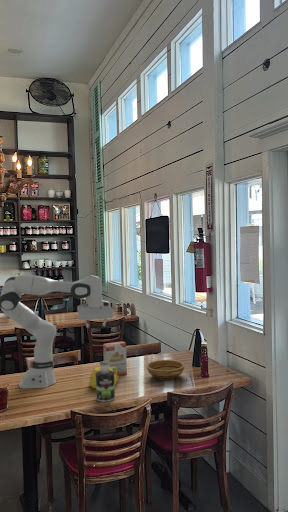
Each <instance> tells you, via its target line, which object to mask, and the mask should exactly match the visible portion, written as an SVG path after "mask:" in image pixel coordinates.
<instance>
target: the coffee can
mask: <svg viewBox="0 0 288 512" xmlns="http://www.w3.org/2000/svg"><path fill="white" fill-rule="evenodd" d="M115 389H116V387H115V386H114V372H113V371H109V374H106V375H102V374H100V371H99V372H97V373H96V389H95V390H96V401H97V402H103V403H104V402H111V401H114V400H115V399H116V395H115Z"/></svg>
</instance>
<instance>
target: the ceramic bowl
mask: <svg viewBox="0 0 288 512" xmlns="http://www.w3.org/2000/svg"><path fill="white" fill-rule="evenodd" d="M185 366H186V364H185V363H184V362H182V361H180V360H173V359H158V360H154V361H150V362H148V363H147V364H146V365H145V367H146V370H147V372H148V374H150V376H153V377H154V378H156V379H157V378H158V380H159V379H160V381H171V380H172V381H173V380H174V379H176V377H178V376H180V375H182V373H183V372H184V370H185Z"/></svg>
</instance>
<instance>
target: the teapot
mask: <svg viewBox="0 0 288 512" xmlns="http://www.w3.org/2000/svg"><path fill="white" fill-rule="evenodd" d="M114 368H115V373H114V387H115V385H117V382H118V380H119V379H120V377H119V376H117V372H118V370H117V368H116V367H111V368H110V367H109V371H113V370H112V369H114ZM99 371H100V366H96V367H95V368H94V369H93V370H92V371H91V374H90V376H89V381H88V382H89V385H90V387H91V388H92V389H94V390H96V373H97V372H99Z"/></svg>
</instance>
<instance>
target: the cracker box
mask: <svg viewBox="0 0 288 512" xmlns="http://www.w3.org/2000/svg"><path fill="white" fill-rule="evenodd" d="M102 345H103V348H102V349H103V361H109V367H110V368H111V367H116V368H117V370H118V372H117V376H124V375H125V376H126V375H127V374H128V368H127V365H128V364H127V363H128V362H127V360H128V359H127V343H126V342H125V341H116V342H108V343H103V344H102ZM112 370H113V372H114V373H115V368H114V369H112Z"/></svg>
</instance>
